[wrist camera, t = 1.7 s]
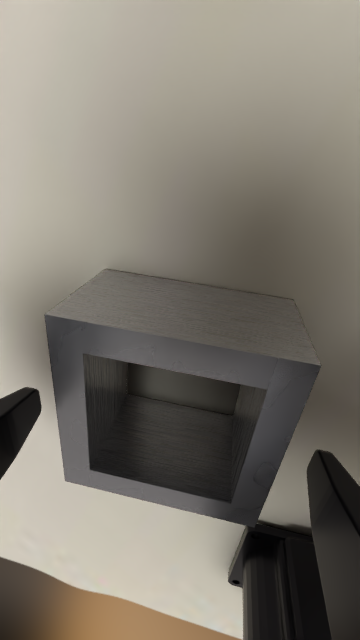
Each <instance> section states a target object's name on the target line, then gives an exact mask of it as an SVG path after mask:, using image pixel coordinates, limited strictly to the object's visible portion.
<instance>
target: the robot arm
mask: <svg viewBox="0 0 360 640" xmlns="http://www.w3.org/2000/svg"><path fill="white" fill-rule="evenodd" d="M40 412H41V401H40V395H39V391H38V390H37V389H34V388H29V387H25V388H22V389H20V390H18V391H16V392H14V393H12V394H10V395H8V396H5V397H3V398H1V399H0V480H1V478H2V477H3V475H4V474H5V472H6V471H7V470H8V468H9V467H10V465H11V464H12V462H13V461H14V459H15V458H16V456H17V454H18V453H19V451H20V449H21V447H22V446H23V444H24V442H25V440H26V438H27V437H28V435H29V433H30V431H31V429H32V428H33V426H34V424H35V422H36V420H37V419H38V417H39V415H40ZM307 483H308V495H309V507H310V519H311V529H312V535H313V537H310V536H306V535H302V534H297V533H293V532H289V531H285V530H281V529H277V528H273V527H269V526H265V525H261V524H256V525H255V527H250V526H246V529H245V531H244V534H243V536H242V539H241V541H240V544H239V547H238V549H237V552H236V554H235V557H234V559H233V562H232V565H231V567H230V570H229V572H228V582H229V583H230V584H232V585H234V586H238V587H241V588H243V640H360V486H359V485H358V484H357V483H356V481H355V480H354V479H353V478H352V477H351V475H350V474H349V473H348V472H347V471H346V469H345V468H344V467H343V466H342V465H341V463H340V462H339V461H338V460H337V459H336V457H335V456H334V455H333V454H332V453H331V452H328V451H323V450H316V451H315V452H314V454H313V456H312V458H311V461H310V463H309V465H308V467H307Z"/></svg>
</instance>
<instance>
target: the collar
mask: <svg viewBox="0 0 360 640" xmlns="http://www.w3.org/2000/svg"><path fill="white" fill-rule="evenodd" d="M45 322H46V330H47V338H48V346H49V354H50V363H51V371H52V379H53V387H54V395H55V403H56V411H57V419H58V427H59V435H60V443H61V451H62V459H63V467H64V475H65V481H67V482H71V483H75V484H79V485H84V486H88V487H92V488H96V489H100V490H104V491H108V492H112V493H116V494H120V495H124V496H128V497H132V498H136V499H140V500H144V501H149V502H153V503H157V504H161V505H165V506H169V507H173V508H177V509H181V510H185V511H189V512H193V513H197V514H201V515H205V516H210V517H214V518H218V519H222V520H226V521H230V522H234V523H238V524H242V525H246V526H250V527H255V525H256V522H257V520H258V518H259V515H260V513H261V510H262V508H263V505H264V503H265V501H266V498H267V496H268V493H269V491H270V488H271V486H272V484H273V481H274V479H275V476H276V474H277V472H278V469H279V467H280V464H281V462H282V459H283V457H284V455H285V452H286V450H287V447H288V445H289V443H290V440H291V438H292V435H293V433H294V430H295V428H296V426H297V423H298V421H299V418H300V416H301V414H302V411H303V409H304V406H305V404H306V401H307V399H308V397H309V394H310V392H311V389H312V387H313V385H314V382H315V380H316V377H317V375H318V372H319V370H320V368H321V364H320V361H319V359H318V357H317V354H316V352H315V350H314V347H313V345H312V343H311V340H310V338H309V336H308V333H307V331H306V329H305V326H304V324H303V321H302V319H301V317H300V314H299V312H298V310H297V307H296V305H295V303H294V300H292V299H286V298H280V297H274V296H267V295H261V294H255V293H249V292H243V291H237V290H231V289H225V288H219V287H213V286H207V285H200V284H194V283H188V282H182V281H176V280H170V279H164V278H158V277H152V276H146V275H140V274H133V273H127V272H121V271H115V270H109V269H104V270H103V271H102V272H100V273H99V274H98V275H96V276H95V277H94V278H92V279H91V280H90V281H88V282H87V283H86V284H84V285H83V286H82V287H80V288H79V289H78V290H76V291H75V292H74V293H72V294H71V295H70V296H68V297H67V298H66V299H64V300H63V301H62V302H60V303H59V304H58V305H56V306H55V307H54V308H52V309H51V310H50V311H48V312H47V313H46V314H45ZM128 362H130V363H135V364H140V365H145V366H150V367H155V368H160V369H165V370H170V371H176V372H181V373H186V374H191V375H196V376H201V377H206V378H211V379H216V380H221V381H226V382H231V383H237V384H241V387H240V391H239V395H238V398H237V402H236V406H235V410H234V414H233V416H230V415H225V414H221V413H216V412H211V411H206V410H201V409H197V408H192V407H187V406H182V405H177V404H173V403H168V402H163V401H158V400H153V399H149V398H144V397H139V396H134V395H129V394H127V381H128Z"/></svg>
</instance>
